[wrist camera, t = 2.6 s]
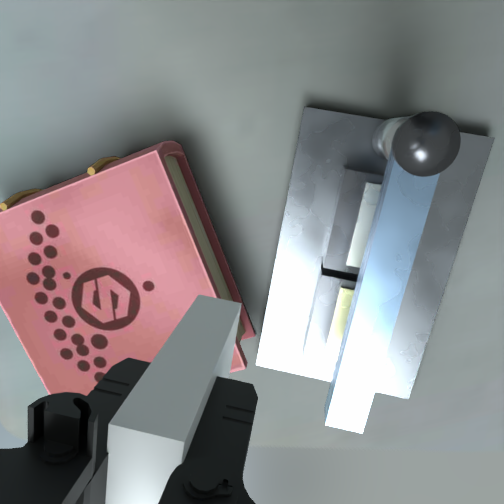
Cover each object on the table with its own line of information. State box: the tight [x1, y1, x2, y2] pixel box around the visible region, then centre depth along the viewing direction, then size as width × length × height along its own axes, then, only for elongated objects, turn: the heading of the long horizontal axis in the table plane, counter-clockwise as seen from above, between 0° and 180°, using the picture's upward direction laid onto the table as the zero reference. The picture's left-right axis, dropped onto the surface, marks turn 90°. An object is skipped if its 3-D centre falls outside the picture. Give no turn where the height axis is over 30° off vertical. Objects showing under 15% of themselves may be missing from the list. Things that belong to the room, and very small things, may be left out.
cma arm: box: [325, 111, 461, 433], centre depth 20 cm, size 16×3×2 cm, turn 171°
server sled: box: [256, 107, 494, 399], centre depth 25 cm, size 18×11×6 cm, turn 171°
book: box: [0, 141, 256, 396], centre depth 29 cm, size 14×15×5 cm
